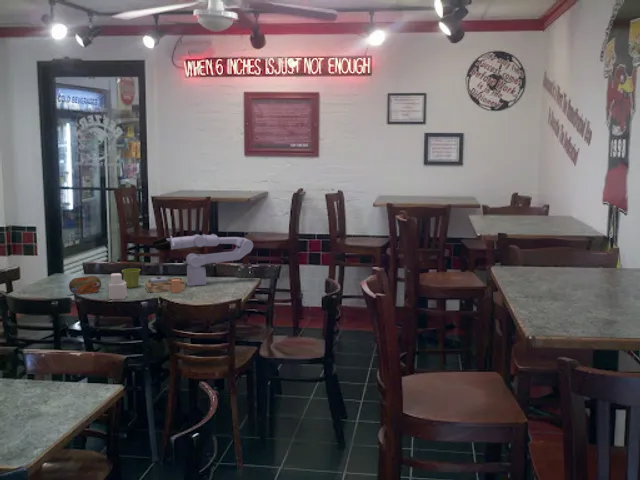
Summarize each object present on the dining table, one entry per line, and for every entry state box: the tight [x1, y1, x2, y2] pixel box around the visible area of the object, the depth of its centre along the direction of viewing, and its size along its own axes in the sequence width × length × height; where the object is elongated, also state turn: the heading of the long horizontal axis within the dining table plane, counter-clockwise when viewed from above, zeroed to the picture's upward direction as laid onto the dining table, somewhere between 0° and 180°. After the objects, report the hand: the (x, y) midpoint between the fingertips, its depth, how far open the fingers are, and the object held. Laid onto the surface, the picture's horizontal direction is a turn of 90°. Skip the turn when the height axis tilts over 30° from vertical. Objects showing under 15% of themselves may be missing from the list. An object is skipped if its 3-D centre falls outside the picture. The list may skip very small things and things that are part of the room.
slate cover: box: [149, 276, 169, 284], centre depth 354 cm, size 8×8×4 cm
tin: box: [68, 275, 102, 296], centre depth 346 cm, size 15×3×8 cm, turn 122°
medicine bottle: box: [107, 272, 128, 300], centre depth 335 cm, size 7×7×12 cm
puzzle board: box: [144, 277, 186, 294], centre depth 355 cm, size 18×12×4 cm, turn 111°
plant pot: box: [121, 268, 141, 289], centre depth 362 cm, size 9×9×9 cm
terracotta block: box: [171, 279, 182, 294], centre depth 348 cm, size 4×4×6 cm
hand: (154, 245), depth 357 cm, fingers open, 7 cm apart
